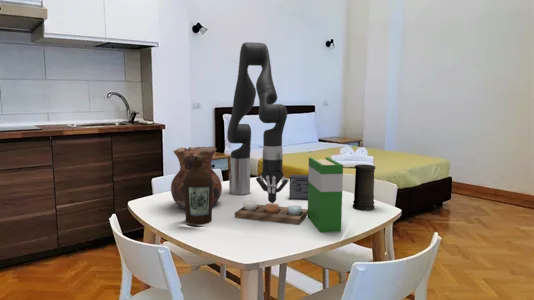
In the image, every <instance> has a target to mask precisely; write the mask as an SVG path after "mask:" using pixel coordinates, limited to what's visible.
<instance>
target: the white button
mask: <svg viewBox="0 0 534 300" xmlns="http://www.w3.org/2000/svg"><path fill="white" fill-rule="evenodd" d="M243 207H244V210H246V211H255V210H257V202H256V201H253V200H251V201H244V202H243Z"/></svg>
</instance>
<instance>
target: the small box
mask: <svg viewBox="0 0 534 300" xmlns="http://www.w3.org/2000/svg"><path fill="white" fill-rule="evenodd" d="M288 179H289V198H288V200H295V201H296V200H301V201H308V174H306V175H305V174H290V175H289V178H288Z"/></svg>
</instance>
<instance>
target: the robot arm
mask: <svg viewBox="0 0 534 300" xmlns="http://www.w3.org/2000/svg"><path fill="white" fill-rule="evenodd" d="M239 51H240V52H239V63H238V73H237V80H236V85H235V90H234V96H233V102H232V103H233V104H232V111H231V115H230V120H229V123H228V127H227V133H226V134H227V135H226V137H227V141H228V143H230V144H241V146H240V147H238V148H236V149H234V150H232V151H231V152H230V173H229V174H228V176H229V177H228V179H229V182H228V183H229V184H228V186H229V187H228V191H229V192H228V193H229V194H231V195H232V194H233V195H244V196H245V195H248V194H250V193H251V146H252V145H251V144H252V143H251V142H252V127H251V126H250V124H248V123H240V122H241V121H242V119H243V118H244V117H245V116H246V115H247V114H248V113H249V112H250V111H251V110H252V108H253V107H254V105H255V100H256V97H257V96H258V102H259V103H258V104H259V107H258V119H259V120H260V121H261V122H262V123H263V124H274V126H273V127H272V128H270V129H266V130H264V131H263V135H262V136H263V137H262V138H263V142H262V143H263V146H262V171H261V173H260V174H261V175H260V176H258V177H256V178H255V180H256V182H257V183H258V185H259V186H260V187H261V189H262V190H263V192H266V193H267V201H268V202H269V204H270V203H274V204H275V202H277V193H280V192H281V191H282V190H283V189H284V188H285V187H286V185H287V184H288V183H289V182H290V178H286V177H285V176H284V175H285V174H284V173H283V159H284V158H283V157H284V153H283V152H284V151H283V134H284V133H283V132H284V129H285V125H286V122H287V121H286V120H287V119H288V110H287V107H286V106H285V105H284V104H282V103H280V104H279V103H277V104H276V102H277V101H278V93H277V90H276V87H275V84H274V80H273V75H272V66H271V59H270V53H269V47H268V46H267V44H266V43H264V42H252V41H251V42H249V41H246V42H243V43H242V44H241V46H240V50H239ZM250 66H252V67H254V66H260V67H261V71H260V74H259V76H258V77H257V80H256V84H255V85H254V83H253V81H252V79H251V77H250V74H249V70H248V68H249V67H250ZM256 94H257V95H256ZM280 182H281V184H280V185H279V183H280ZM278 185H279V186H278Z"/></svg>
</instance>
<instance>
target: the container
mask: <svg viewBox="0 0 534 300" xmlns="http://www.w3.org/2000/svg"><path fill="white" fill-rule="evenodd" d="M354 169H355V170H354V171H355V175H354V176H355V178H354V194H353V198H354V199H353V204H352V208H353V209H355V210H357V211H364V210H367V211H372V210H373V211H374V210H375V199H374V198H375V195H374V194H375V193H374V192H375V190H374V189H375V172H376V171H375V170H376V166H375V165H372V164H355V165H354Z"/></svg>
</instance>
